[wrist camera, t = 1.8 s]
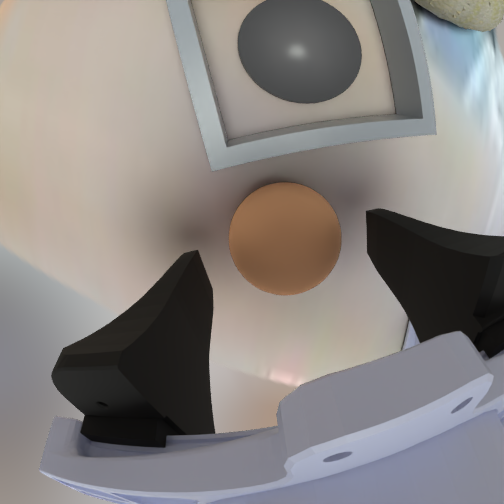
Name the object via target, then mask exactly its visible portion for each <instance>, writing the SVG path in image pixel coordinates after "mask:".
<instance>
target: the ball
mask: <svg viewBox="0 0 504 504" xmlns="http://www.w3.org/2000/svg"><path fill="white" fill-rule="evenodd" d="M229 248H230V252H231V256H232V258H233V261H234V263H235V265H236V267H237V269H238V270H239V272H240V273H241V274H242V275H243V277H244V278H245V279H246V280H247V281H248V282H250V283H251V284H252V285H254V286H255V287H257V288H259V289H260V290H263V291H265V292H268V293H272V294H276V295H294V294H299V293H302V292H305V291H308V290H310V289H312V288H314V287H315V286H317V285H318V284H320V283H321V282H322V281H323V280H324V279H325V278H326V277H327V276H328V275H329V273H330V272H331V271H332V269H333V268H334V266H335V264H336V262H337V260H338V257H339V253H340V249H341V229H340V225H339V221H338V218H337V216H336V214H335V212H334V210H333V208H332V207H331V206H330V204H329V203H328V202H327V201H326V200H325V198H324V197H322V196H321V195H320V194H319V193H317V192H316V191H314V190H313V189H311V188H309V187H306V186H304V185H301V184H297V183H290V182H279V183H273V184H269V185H266V186H264V187H261V188H259V189H257V190H256V191H254V192H252V193H251V194H250V195H249V196H247V197H246V198H245V199H244V200H243V202H242V203H241V204H240V206H239V207H238V208H237V210H236V212H235V214H234V216H233V218H232V221H231V225H230V230H229Z"/></svg>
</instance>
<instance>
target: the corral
mask: <svg viewBox="0 0 504 504" xmlns="http://www.w3.org/2000/svg"><path fill="white" fill-rule="evenodd" d="M370 1H371V4H372V7H373V10H374V13H375V17H376V20H377V23H378V27H379V30H380V34H381V38H382V42H383V46H384V50H385V54H386V58H387V63H388V68H389V73H390V78H391V83H392V89H393V95H394V102H395V109H396V114H390V115H376V116H365V117H355V118H346V119H338V120H330V121H323V122H316V123H310V124H304V125H298V126H292V127H287V128H281V129H276V130H271V131H266V132H262V133H257V134H252V135H248V136H244V137H239V138H235V139H231V140H228V139H227V135H226V131H225V127H224V124H223V120H222V116H221V112H220V108H219V105H218V101H217V97H216V93H215V89H214V86H213V82H212V78H211V74H210V70H209V67H208V63H207V59H206V55H205V52H204V48H203V44H202V40H201V37H200V33H199V29H198V26H197V22H196V18H195V14H194V11H193V7H192V3H191V0H166V2H167V6H168V10H169V14H170V18H171V22H172V26H173V30H174V34H175V38H176V42H177V46H178V49H179V53H180V57H181V61H182V65H183V69H184V72H185V76H186V80H187V83H188V87H189V91H190V95H191V98H192V102H193V106H194V109H195V113H196V117H197V120H198V124H199V127H200V131H201V135H202V138H203V142H204V145H205V149H206V152H207V156H208V160H209V163H210V167H211V170H212V171H216V170H220V169H224V168H228V167H232V166H236V165H240V164H244V163H248V162H253V161H257V160H261V159H266V158H271V157H275V156H280V155H285V154H290V153H295V152H300V151H306V150H311V149H317V148H323V147H329V146H335V145H341V144H348V143H355V142H363V141H371V140H379V139H388V138H398V137H409V136H421V135H437V134H436V121H435V111H434V102H433V94H432V87H431V81H430V75H429V70H428V65H427V60H426V55H425V50H424V46H423V42H422V38H421V34H420V30H419V27H418V23H417V20H416V17H415V13H414V10H413V7H412V4H411V1H410V0H370ZM238 51H239V56H240V59H241V62H242V64H243V66H244V68H245V70H246V71H247V73H248V74H249V76H250V77H251V78H252V79H253V80H254V81H255V82H256V83H257V84H258V85H259V86H260V87H261V88H263V89H264V90H266V91H267V92H268V93H270V94H272V95H274V96H276V97H279V98H281V99H284V100H287V101H291V102H297V103H317V102H322V101H326V100H329V99H332V98H334V97H336V96H338V95H339V94H341V93H343V92H344V91H345V90H346V89H347V88H348V87H349V86H350V85H351V84H352V83H353V81H354V80H355V78H356V76H357V74H358V72H359V69H360V65H361V58H362V54H361V45H360V41H359V38H358V36H357V33H356V31H355V29H354V28H353V26H352V25H351V23H350V22H349V21H348V20H347V18H346V17H345V16H344V15H343V14H342V13H341V12H339V11H338V10H337V9H335V8H334V7H333V6H331V5H329V4H328V3H326V2H323V1H321V0H266V1H264V2H262V3H261V4H259V5H258V6H256V7H255V8H254V9H253V10H252V11H251V12H250V13H249V14H248V15H247V16H246V18H245V19H244V21H243V23H242V25H241V28H240V31H239V36H238Z"/></svg>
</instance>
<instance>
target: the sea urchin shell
mask: <svg viewBox="0 0 504 504" xmlns="http://www.w3.org/2000/svg"><path fill="white" fill-rule="evenodd" d="M414 1H415V2H416V3H418V4H419V5H421V6H422V7H424V8H425V9H427V10H429V11H430V12H432V13H433V14H435V15H437V16H438V17H439V18H441V19H444V20H448V21H450V22H452V23H454V24H456V25H458V26H459V27H463V28H465V29H472V30H477V31H482V32H484V31H488V30H489V31H491V29H494V28H495V27H497V25H498V24H499V23H501V20H502V19H503V14H504V0H414Z"/></svg>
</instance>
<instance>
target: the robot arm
mask: <svg viewBox="0 0 504 504" xmlns="http://www.w3.org/2000/svg"><path fill="white" fill-rule="evenodd" d="M366 223H367V253H368V255H369V257H370V259H371V261H372V263H373V264H374V266H375V268H376V270H377V271H378V273H379V274H380V275H381V277H382V278H383V280H384V281H385V283H386V284H387V285H388V287H389V288H390V289H391V291H392V292H393V294H394V295H395V297H396V298H397V299H398V301H399V302H400V304H401V305H402V307H403V309H404V310H405V312H406V314H407V316H408V318H409V324H408V329H407V333H406V337H405V342H404V346H403V349H402V351H399V352H397V353H394V354H391V355H388V356H386V357H383V358H380V359H377V360H374V361H371V362H368V363H365V364H362V365H358V366H355V367H352V368H349V369H345V370H342V371H338V372H335V373H331V374H327V375H325V376H322V377H320V378H317V379H315V380H312V381H310V382H307V383H304V384H302V385H300V386H299V387H297V388H296V389H295V390H294V391H292V392H291V393H290V394H288V395H287V396H286V397H285V398H283V399H282V400H281V401H280V403H279V407H278V411H277V422H278V426H273V427H267V428H261V429H254V430H246V431H238V432H229V433H219V434H215V429H214V421H213V413H212V404H211V392H210V374H209V349H210V339H211V329H212V318H213V288H212V286H211V283H210V281H209V278H208V276H207V273H206V270H205V268H204V265H203V262H202V260H201V257H200V254H199V252H198V250H195V251H191V252H187V253H184V254H183V255H181V256H180V257H179V258H178V259H177V260H176V262H175V263H174V264H173V265H172V266H171V267H170V268H169V269H168V270H167V272H166V273H165V274H164V275H163V276H162V277H161V278H160V279H159V280H158V281H157V282H156V284H155V285H154V286H153V287H152V288H151V289H150V290H149V291H148V292H147V293H146V294H145V295H144V296H143V297H142V298H141V299H139V300H138V301H137V302H136V303H135V304H134V305H133V306H131V307H130V308H129V309H128V310H127V311H125V312H124V313H122V314H121V315H120V316H118V317H117V318H116V319H114V320H113V321H112V322H110V323H109V324H107V325H106V326H104V327H103V328H101V329H99V330H98V331H96V332H94V333H93V334H91V335H89V336H87V337H85V338H84V339H82V340H80V341H77V342H75V343H74V344H71V345H69V346H67V347H65V348H63V350H62V352H61V354H60V356H59V358H58V360H57V362H56V365H55V367H54V369H53V371H52V375H51V376H52V380H53V383H54V385H55V386H56V388H57V390H58V391H59V392H60V393H61V394H62V395H63V396H64V397H65V398H66V399H67V400H68V401H70V402H71V403H72V404H73V405H74V406H75V407H76V408H77V409H79V410H80V411H81V412H82V413H83V414H84V415H85V416H84V420H83V422H82V421H79V420H77V419H73V418H67V417H61V416H55V417H54V419H53V422H52V425H51V428H50V431H49V435H48V438H47V441H46V445H45V449H44V452H43V456H42V460H41V464H40V468H39V470H40V472H41V473H43V474H44V475H46V476H48V477H50V478H52V479H54V480H56V481H58V482H60V483H62V484H64V485H66V486H68V487H70V488H72V489H74V490H76V491H79V492H81V493H83V494H86V495H88V496H92V497H95V498H99V499H102V500H106V501H110V502H114V503H118V504H504V236H487V235H478V234H471V233H465V232H459V231H455V230H451V229H446V228H442V227H438V226H435V225H432V224H428V223H425V222H422V221H419V220H416V219H413V218H410V217H407V216H404V215H401V214H398V213H395V212H392V211H388V210H385V209H379V208H378V209H373V210H369V211H366Z"/></svg>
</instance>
